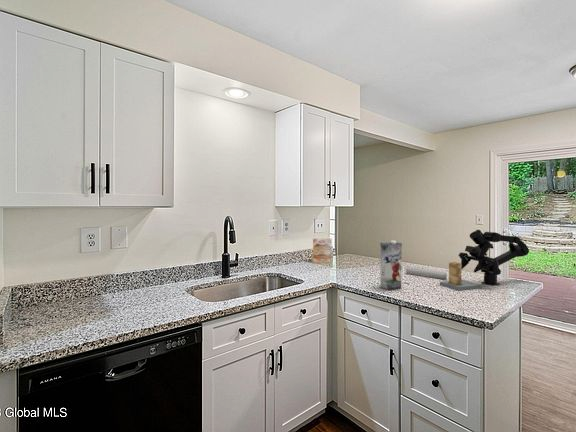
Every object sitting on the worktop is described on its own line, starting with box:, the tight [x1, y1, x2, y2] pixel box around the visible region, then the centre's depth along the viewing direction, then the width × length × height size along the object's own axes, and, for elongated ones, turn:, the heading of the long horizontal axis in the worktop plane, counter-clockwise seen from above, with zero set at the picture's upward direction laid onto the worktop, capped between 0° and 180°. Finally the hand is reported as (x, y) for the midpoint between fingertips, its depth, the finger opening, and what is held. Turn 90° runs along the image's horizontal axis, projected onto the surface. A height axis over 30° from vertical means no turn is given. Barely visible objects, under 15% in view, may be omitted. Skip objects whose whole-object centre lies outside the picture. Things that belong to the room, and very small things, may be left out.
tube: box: [405, 266, 448, 280], centre depth 201 cm, size 5×5×25 cm
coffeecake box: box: [312, 237, 333, 264], centre depth 254 cm, size 15×7×20 cm, turn 81°
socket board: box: [439, 279, 482, 292], centre depth 175 cm, size 16×13×2 cm
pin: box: [448, 261, 462, 286], centre depth 173 cm, size 4×4×14 cm
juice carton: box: [379, 240, 403, 291], centre depth 173 cm, size 9×10×27 cm
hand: (467, 270), depth 176 cm, fingers open, 9 cm apart
